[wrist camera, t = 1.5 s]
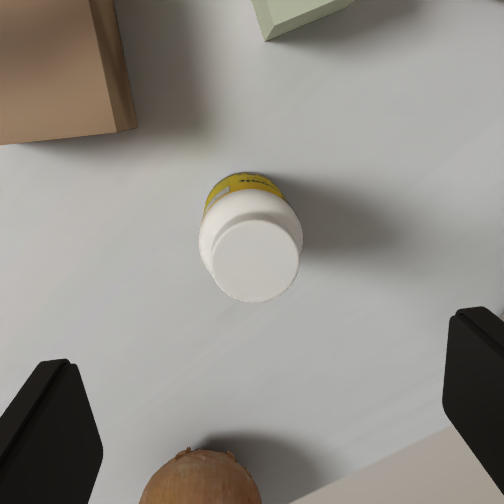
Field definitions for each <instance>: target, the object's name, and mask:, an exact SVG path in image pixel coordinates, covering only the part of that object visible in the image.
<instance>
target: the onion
mask: <svg viewBox="0 0 504 504" xmlns="http://www.w3.org/2000/svg"><path fill="white" fill-rule="evenodd" d="M190 450H191V448H190V447H189V448H188V446H187V450H184V451H181V452H179V453H178V454H177V455H176V456H175V458H173V459H171V460H170V461H168V462H167V463H166V464H165V465H163V466H162V467H161V468H160V469H159V470H158V471H157V472H156V473H155V474H154V475H153V476H152V477H151V479H150V480H149V482H148V484H147V486H146V487H145V489H144V491H143V494H142V497H141V499H140V502H139V504H262V502H261V498H260V494H259V491H258V488H257V486H256V484H255V482H254V480H253V479H252V477H251V475H250V473H249V472H248V470H247V469H246V467H244V466H243V467H242V466H240V465H239V464H238V463H237V461H236V458H235V456H234V455H233V454H232V453H231V452H230V451H227V452H226V453H227V454H225V453H223V452H220V453H219V452H216V451H211V450H202V449H200V448H199V450H198V449H196V451H190Z"/></svg>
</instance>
